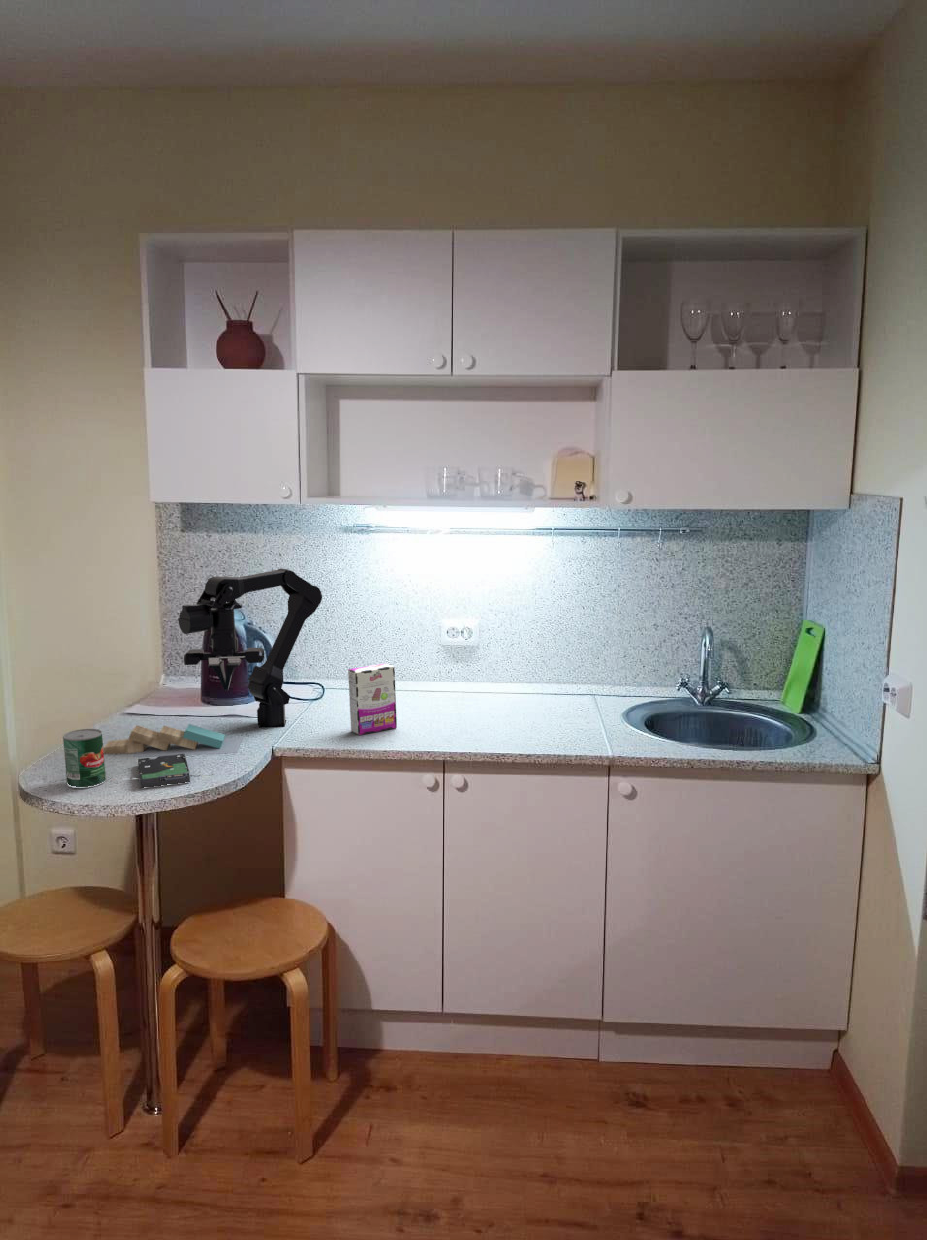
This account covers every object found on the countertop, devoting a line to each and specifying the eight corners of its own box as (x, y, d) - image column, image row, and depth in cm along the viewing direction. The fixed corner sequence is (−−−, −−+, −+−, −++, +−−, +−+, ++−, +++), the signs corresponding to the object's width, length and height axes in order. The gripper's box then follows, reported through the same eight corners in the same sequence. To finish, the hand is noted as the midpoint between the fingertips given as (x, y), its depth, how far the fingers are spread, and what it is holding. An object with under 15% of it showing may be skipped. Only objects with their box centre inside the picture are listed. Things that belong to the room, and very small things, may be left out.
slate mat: (243, 739, 231) (243, 737, 231) (237, 754, 220) (237, 752, 220) (144, 743, 229) (144, 741, 229) (132, 759, 217) (132, 757, 217)
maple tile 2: (200, 735, 227) (164, 725, 225) (197, 742, 222) (159, 731, 220) (198, 743, 227) (161, 733, 226) (194, 749, 222) (157, 739, 221)
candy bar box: (388, 723, 244) (386, 662, 241) (397, 728, 239) (395, 666, 236) (349, 731, 237) (347, 668, 235) (358, 736, 233) (356, 672, 230)
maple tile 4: (147, 737, 225) (109, 741, 225) (142, 743, 220) (103, 747, 220) (148, 744, 226) (110, 749, 225) (143, 751, 221) (104, 755, 220)
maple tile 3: (173, 737, 226) (136, 725, 225) (168, 743, 221) (131, 731, 220) (170, 744, 226) (134, 732, 225) (166, 751, 221) (128, 738, 220)
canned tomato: (74, 776, 206) (70, 728, 204) (111, 775, 206) (107, 727, 204) (61, 789, 198) (56, 739, 196) (99, 788, 198) (95, 738, 196)
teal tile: (220, 748, 223) (182, 737, 221) (223, 742, 228) (186, 731, 226) (222, 741, 222) (185, 730, 221) (225, 734, 227) (189, 724, 226)
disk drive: (138, 770, 211) (141, 791, 198) (137, 758, 211) (139, 778, 197) (185, 764, 215) (191, 784, 201) (184, 752, 215) (190, 772, 201)
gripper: (265, 621, 238) (268, 681, 241) (190, 623, 236) (194, 683, 239) (260, 629, 227) (263, 691, 230) (181, 631, 225) (185, 694, 228)
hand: (226, 690), depth 232 cm, fingers closed
